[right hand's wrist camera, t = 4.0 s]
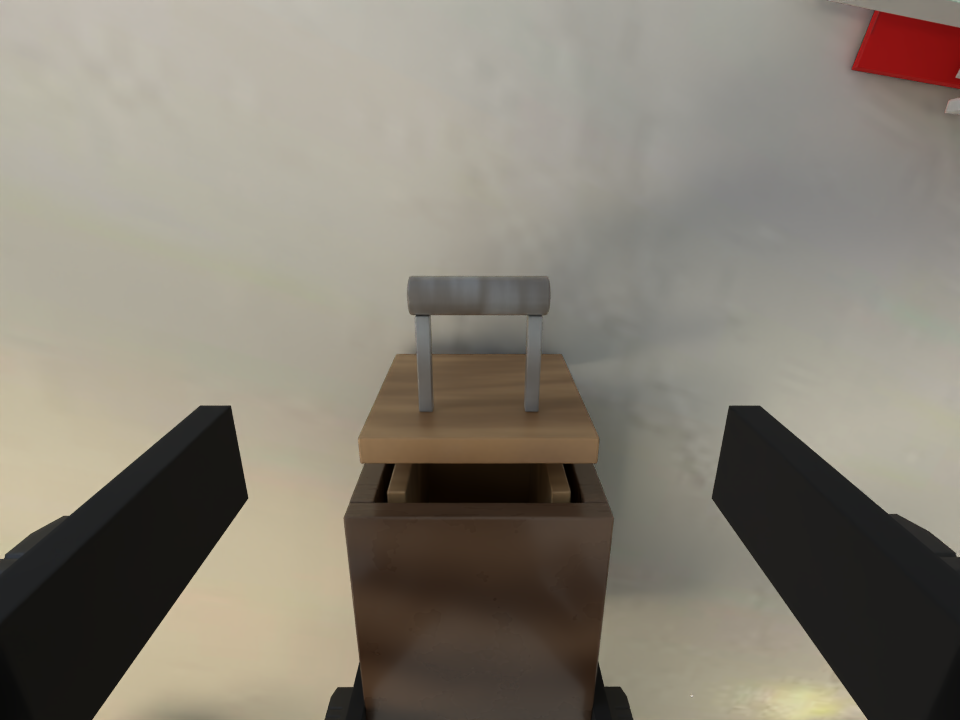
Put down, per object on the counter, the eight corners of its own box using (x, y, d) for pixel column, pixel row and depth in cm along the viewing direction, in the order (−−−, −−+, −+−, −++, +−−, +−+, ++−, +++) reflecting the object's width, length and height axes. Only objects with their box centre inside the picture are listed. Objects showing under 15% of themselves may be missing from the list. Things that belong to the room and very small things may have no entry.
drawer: (389, 249, 27) (343, 290, 18) (568, 249, 27) (614, 290, 18) (408, 561, 34) (382, 704, 25) (549, 561, 34) (575, 704, 25)
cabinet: (391, 394, 31) (342, 517, 20) (566, 394, 31) (614, 517, 20) (404, 599, 37) (372, 783, 26) (553, 599, 37) (584, 783, 26)
